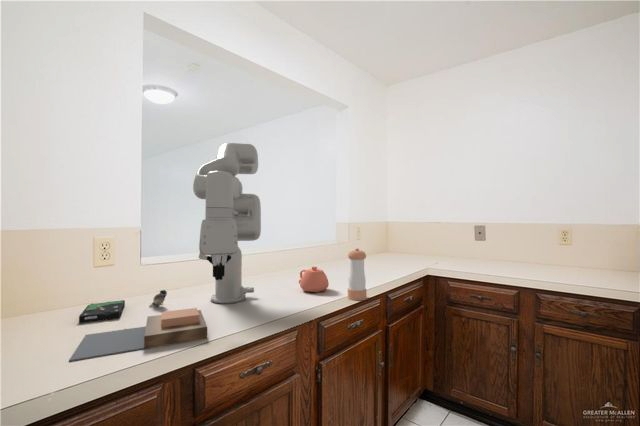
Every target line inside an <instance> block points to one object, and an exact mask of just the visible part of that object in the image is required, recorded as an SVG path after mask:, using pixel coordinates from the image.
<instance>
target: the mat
mask: <svg viewBox="0 0 640 426" xmlns="http://www.w3.org/2000/svg"><path fill="white" fill-rule="evenodd" d="M145 329H146V325H145V326H139V327H133V328H125V329H117V330H109V331H102V332H96V333H90V334H85V336H84V337H83V339H82V340H81V341H80V343H79V344H78V346H77V347H76V349H75V350H74V352H73V353H72V355H71V357H70V358H69V359H68V362H69V363H70V362H73V361H75V362H76V361H81V360H87V359H92V358H93V359H94V358H98V357H105V356H111V355H117V354H122V353H128V352H129V353H130V352H134V351H140V350H145V349H144V336H145Z"/></svg>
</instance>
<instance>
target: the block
mask: <svg viewBox="0 0 640 426" xmlns="http://www.w3.org/2000/svg"><path fill="white" fill-rule="evenodd" d="M160 315H161V328H162V327H169V326H176V325H183V324H190V323H197V322H199V313H198V308H197V307H192V308H186V309H184V308H183V309H175V310H167V311H162V312H161V314H160Z"/></svg>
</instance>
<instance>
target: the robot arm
mask: <svg viewBox="0 0 640 426" xmlns="http://www.w3.org/2000/svg"><path fill="white" fill-rule="evenodd" d="M258 168H259V154H258V150H257V148H256V147H255V146H254V145H253V144H251V143H241V142H238V143H236V142H226V143H224V144H222V145H221V146H220V147H219V149H218V151H217V154H216V158H215V159H213V160H211V161H209V162H207V163H204V164H202V165H201V166H200V167H198V169H197V172H196V174H195V177H194V179H193V185H192V186H193V188H192V189H193V193H194V195H195V197H196V198H198V199H201V200H205V216H204V219H202V220H201V223H200V230H199V244H198V247H199V248H198V249H199V254H198V259H200V260H204V261H208V262H209V263H210V264H211V265H212V278H214V281H215V284H214V286H215V291H214V293H215V294H214V295H212V296H211V297H210V301H211V302H212V303H215V304H233V303H238V302H242V301H244V300H245V299H246V295H247V294H248V293H249V294H251V293H255V287H254V286H253V287H249V286H246V287H244V286H243V283H242V276H243V272H242V270H243V267H242V265H243V262H242V260H243V258H242V257H243V255H242V254H243V253H242V250H241V248H240V247H239V243H238V242H249V241H251V242H252V241H257V240H259V238H260V237H261V231H262V207H261V200H260V197H259V195H257V194H255V193H243V184H242V181H240V179H239V178H238V177H237V175H254V174H257V172H258Z"/></svg>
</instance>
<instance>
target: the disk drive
mask: <svg viewBox="0 0 640 426" xmlns="http://www.w3.org/2000/svg"><path fill="white" fill-rule="evenodd" d="M125 301H126V300H125V299H123V300H114V301H105V302H97V303H90V304H88V305H87V306H86V307H85V308H84V309H83V311H82V312H81V313H80V314H79V316H78V324H86V323H94V322H102V321H111V320H116V319H117V320H119V319H121V318H122V314H123V311H124V309H125V306H126V302H125Z"/></svg>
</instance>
